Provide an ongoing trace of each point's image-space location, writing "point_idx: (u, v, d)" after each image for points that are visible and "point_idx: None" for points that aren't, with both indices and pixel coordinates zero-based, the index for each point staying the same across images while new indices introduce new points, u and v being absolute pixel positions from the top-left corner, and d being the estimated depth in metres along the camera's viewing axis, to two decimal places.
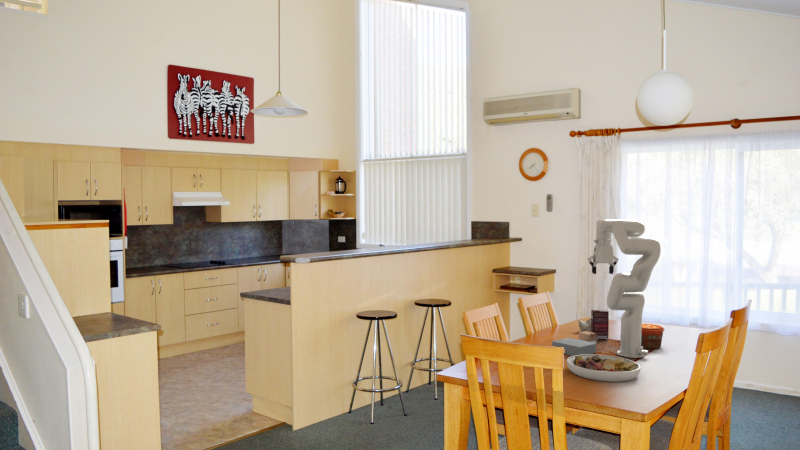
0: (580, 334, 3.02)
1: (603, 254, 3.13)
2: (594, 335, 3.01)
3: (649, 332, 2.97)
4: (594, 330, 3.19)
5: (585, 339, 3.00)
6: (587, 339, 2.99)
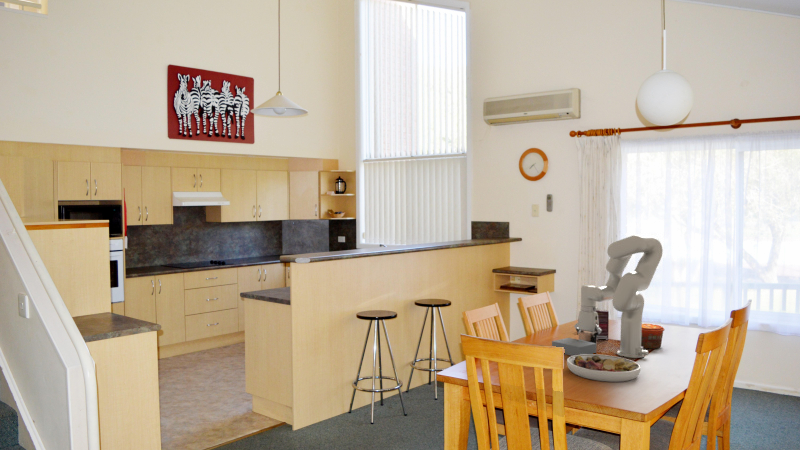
0: (580, 334, 3.02)
1: None
2: None
3: (649, 332, 2.97)
4: None
5: (585, 339, 3.00)
6: (587, 339, 2.99)
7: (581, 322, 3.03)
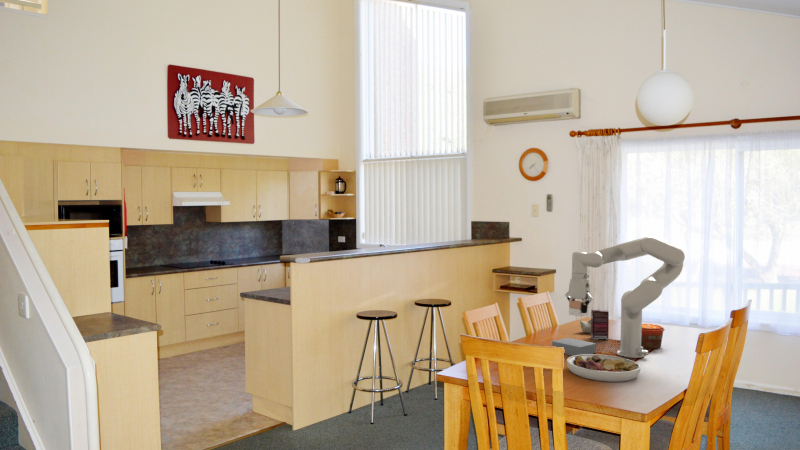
0: (571, 302, 2.92)
1: None
2: None
3: (649, 332, 2.97)
4: (594, 330, 3.19)
5: (576, 307, 2.90)
6: (578, 307, 2.89)
7: (572, 290, 2.93)
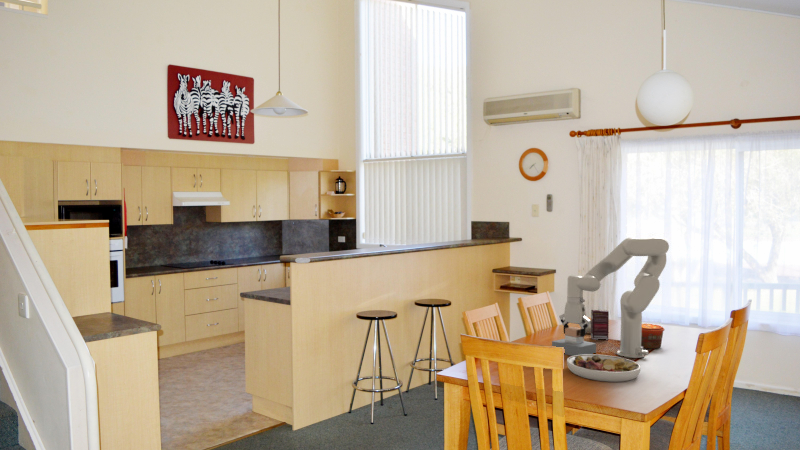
0: (567, 330, 2.88)
1: None
2: None
3: (649, 332, 2.97)
4: (594, 330, 3.19)
5: (572, 335, 2.86)
6: (574, 335, 2.85)
7: (567, 314, 2.88)
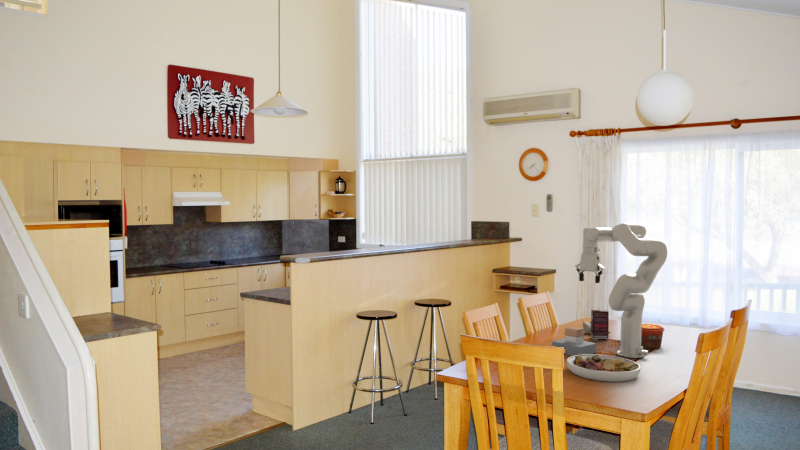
0: (567, 330, 2.88)
1: None
2: (581, 331, 2.86)
3: (649, 332, 2.97)
4: (594, 330, 3.19)
5: (572, 335, 2.86)
6: (574, 335, 2.85)
7: (583, 263, 3.13)
